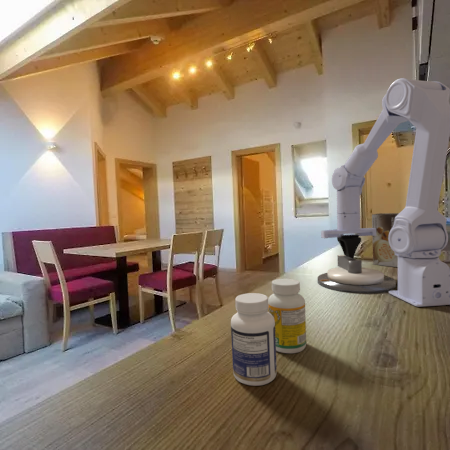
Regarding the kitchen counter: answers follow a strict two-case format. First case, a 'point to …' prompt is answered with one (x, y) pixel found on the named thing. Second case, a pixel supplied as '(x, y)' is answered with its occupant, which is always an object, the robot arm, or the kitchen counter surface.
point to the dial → (354, 272)
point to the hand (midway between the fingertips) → (349, 263)
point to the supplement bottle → (288, 315)
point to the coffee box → (383, 240)
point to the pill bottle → (253, 340)
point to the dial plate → (374, 288)
